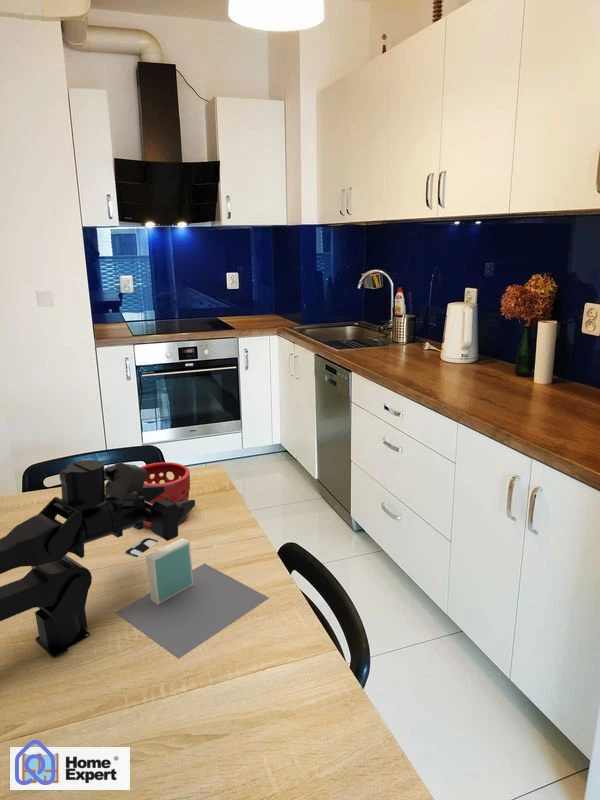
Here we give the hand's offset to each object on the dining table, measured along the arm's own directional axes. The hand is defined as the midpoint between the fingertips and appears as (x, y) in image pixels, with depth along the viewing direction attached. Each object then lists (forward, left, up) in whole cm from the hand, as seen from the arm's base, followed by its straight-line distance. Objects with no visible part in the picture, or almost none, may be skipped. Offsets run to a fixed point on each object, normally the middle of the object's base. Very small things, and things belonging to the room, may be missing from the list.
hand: (179, 495), depth 109 cm
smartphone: (+1, +9, -17) cm, 19 cm away
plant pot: (+11, +22, -17) cm, 29 cm away
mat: (-6, -10, -16) cm, 20 cm away
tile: (-6, -4, -16) cm, 17 cm away
